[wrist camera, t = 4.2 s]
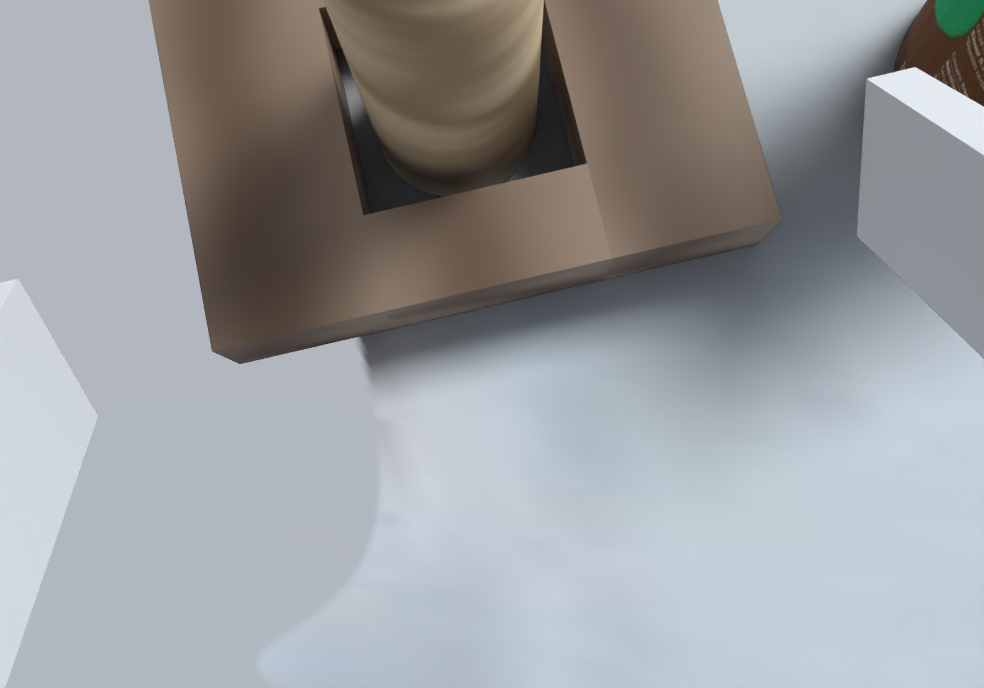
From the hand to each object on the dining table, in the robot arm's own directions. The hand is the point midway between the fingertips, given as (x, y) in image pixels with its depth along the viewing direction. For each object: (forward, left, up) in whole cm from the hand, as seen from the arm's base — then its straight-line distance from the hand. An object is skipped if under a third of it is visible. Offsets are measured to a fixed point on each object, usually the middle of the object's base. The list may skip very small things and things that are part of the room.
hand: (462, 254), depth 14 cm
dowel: (-1, -8, -13) cm, 15 cm away
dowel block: (-1, -8, -13) cm, 15 cm away
